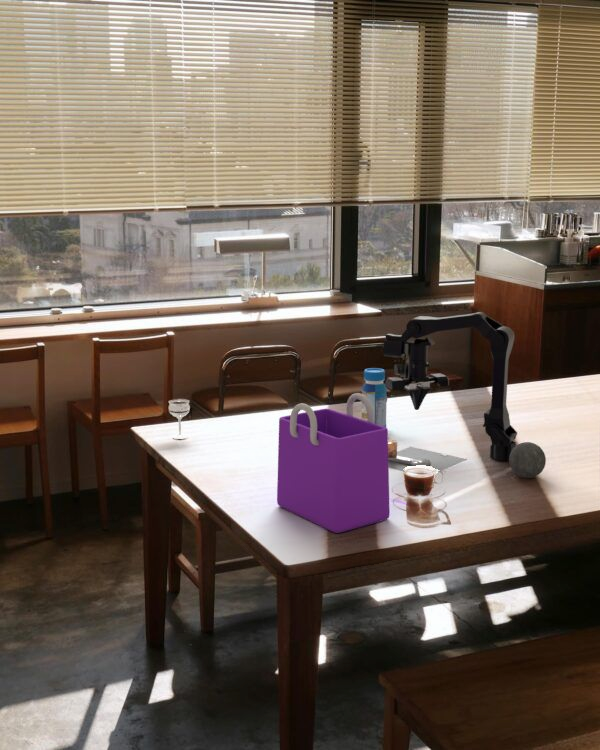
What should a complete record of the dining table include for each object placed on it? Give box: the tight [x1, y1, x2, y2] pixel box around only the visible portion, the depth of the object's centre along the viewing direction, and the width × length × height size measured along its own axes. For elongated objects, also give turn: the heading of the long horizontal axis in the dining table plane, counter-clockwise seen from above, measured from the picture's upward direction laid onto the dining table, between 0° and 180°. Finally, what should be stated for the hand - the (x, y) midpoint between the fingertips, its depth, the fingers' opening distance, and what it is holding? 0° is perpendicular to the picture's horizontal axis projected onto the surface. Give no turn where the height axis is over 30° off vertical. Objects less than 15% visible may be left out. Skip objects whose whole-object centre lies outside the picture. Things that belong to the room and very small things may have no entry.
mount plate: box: [388, 446, 467, 472], centre depth 299 cm, size 20×21×1 cm
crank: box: [388, 440, 431, 466], centre depth 296 cm, size 15×6×5 cm, turn 54°
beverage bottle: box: [361, 367, 388, 428], centre depth 333 cm, size 8×8×20 cm
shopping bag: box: [276, 392, 390, 534], centre depth 257 cm, size 28×22×30 cm
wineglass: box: [168, 398, 191, 436], centre depth 326 cm, size 7×7×12 cm
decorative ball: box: [508, 441, 547, 479], centre depth 286 cm, size 10×10×10 cm
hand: (416, 409), depth 309 cm, fingers closed
